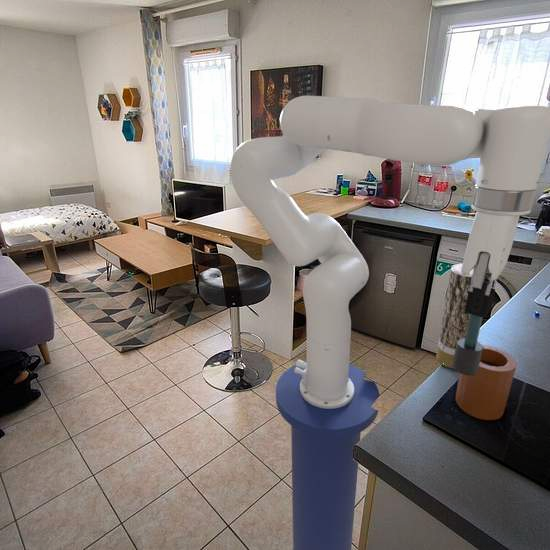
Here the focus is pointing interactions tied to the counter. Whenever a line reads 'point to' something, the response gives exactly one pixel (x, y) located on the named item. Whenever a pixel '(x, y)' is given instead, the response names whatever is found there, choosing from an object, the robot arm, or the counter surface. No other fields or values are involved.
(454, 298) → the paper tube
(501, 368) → the orange hollow cylinder
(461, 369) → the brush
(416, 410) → the counter surface
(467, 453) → the counter surface
